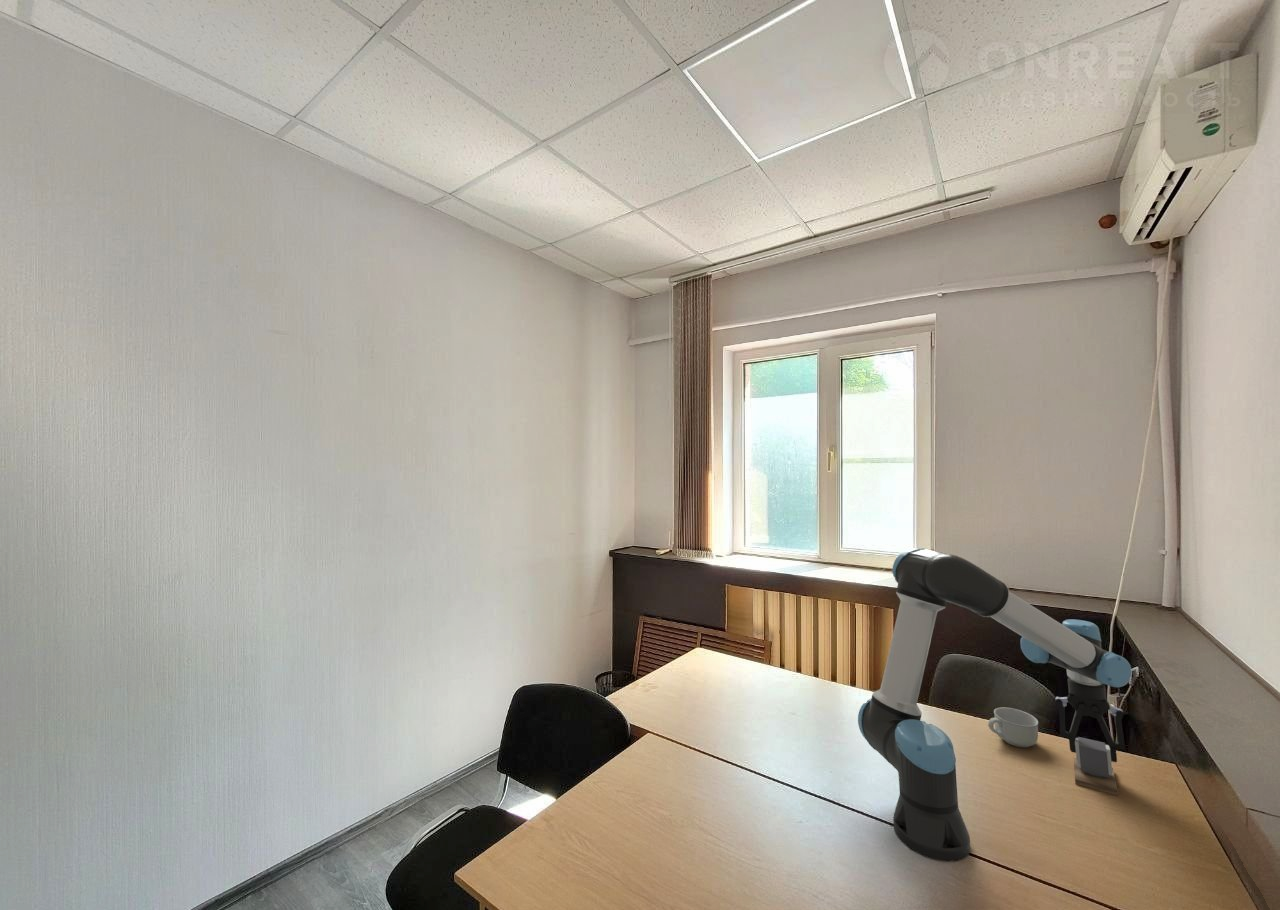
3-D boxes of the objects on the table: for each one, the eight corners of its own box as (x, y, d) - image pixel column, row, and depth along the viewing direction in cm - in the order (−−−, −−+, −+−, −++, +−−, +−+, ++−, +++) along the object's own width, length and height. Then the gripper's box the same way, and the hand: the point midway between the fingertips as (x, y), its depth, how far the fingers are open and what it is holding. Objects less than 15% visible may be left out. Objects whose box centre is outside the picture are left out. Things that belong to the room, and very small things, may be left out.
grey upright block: (1109, 778, 126) (1106, 751, 126) (1081, 770, 129) (1078, 745, 130) (1107, 768, 130) (1104, 742, 130) (1080, 761, 134) (1077, 736, 134)
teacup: (1024, 733, 153) (1022, 707, 153) (1049, 752, 142) (1047, 724, 142) (977, 732, 154) (975, 706, 155) (998, 751, 143) (996, 724, 144)
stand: (1117, 795, 122) (1114, 761, 123) (1075, 783, 128) (1072, 751, 128) (1113, 772, 132) (1110, 741, 132) (1073, 762, 137) (1071, 732, 137)
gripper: (1132, 682, 128) (1141, 773, 127) (1041, 668, 140) (1049, 751, 139) (1136, 693, 122) (1145, 788, 121) (1041, 677, 134) (1049, 763, 133)
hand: (1094, 768), depth 130 cm, fingers open, 5 cm apart
